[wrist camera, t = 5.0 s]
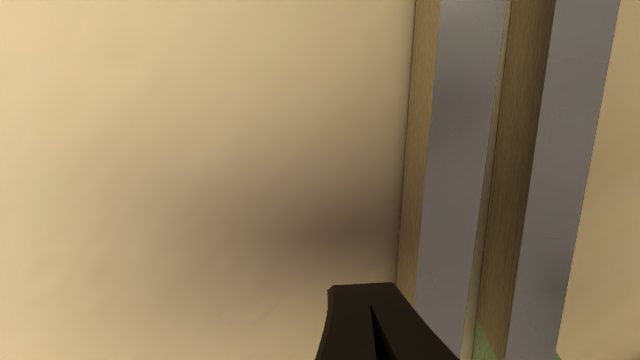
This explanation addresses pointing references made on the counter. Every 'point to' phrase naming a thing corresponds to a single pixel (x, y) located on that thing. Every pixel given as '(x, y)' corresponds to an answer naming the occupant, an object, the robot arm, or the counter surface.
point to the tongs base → (540, 171)
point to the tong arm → (447, 156)
